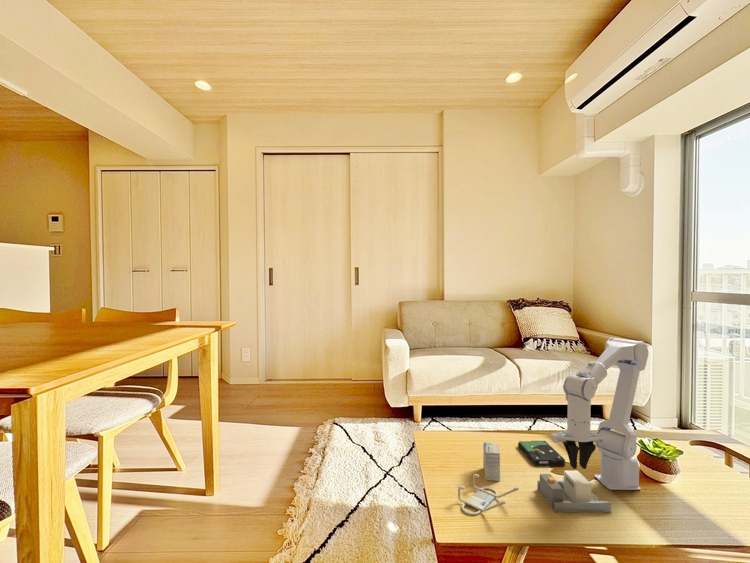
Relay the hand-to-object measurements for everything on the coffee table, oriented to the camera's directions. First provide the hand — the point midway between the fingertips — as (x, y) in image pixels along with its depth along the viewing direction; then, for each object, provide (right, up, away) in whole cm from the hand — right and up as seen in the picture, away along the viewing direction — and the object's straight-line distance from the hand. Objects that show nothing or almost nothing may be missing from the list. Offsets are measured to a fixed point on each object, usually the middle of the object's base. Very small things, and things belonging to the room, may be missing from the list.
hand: (578, 467), depth 108 cm
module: (0, -9, +1) cm, 9 cm away
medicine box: (-20, -9, +14) cm, 26 cm away
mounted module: (-8, -9, 0) cm, 12 cm away
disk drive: (+1, -10, +27) cm, 29 cm away
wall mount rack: (-26, -10, -2) cm, 28 cm away
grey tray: (-2, -9, 0) cm, 10 cm away
